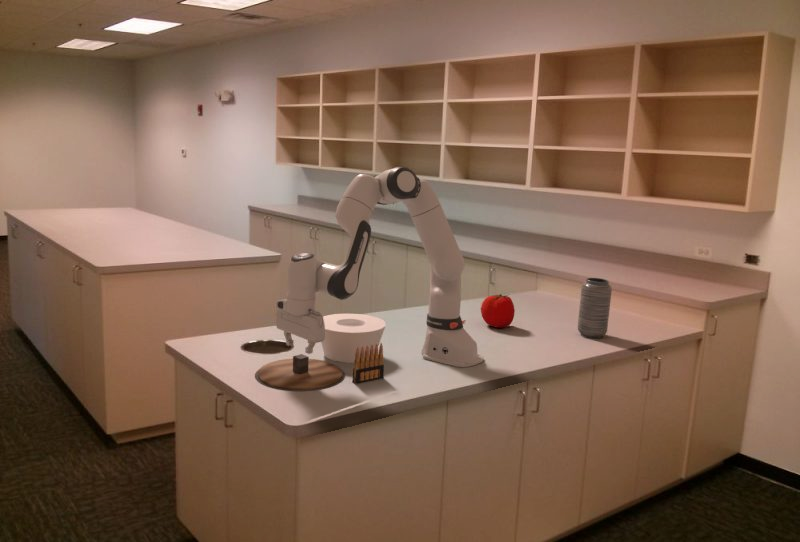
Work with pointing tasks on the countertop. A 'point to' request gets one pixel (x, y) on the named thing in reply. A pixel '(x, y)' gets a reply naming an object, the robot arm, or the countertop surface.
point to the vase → (594, 308)
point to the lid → (300, 373)
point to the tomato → (498, 310)
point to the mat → (300, 390)
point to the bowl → (350, 335)
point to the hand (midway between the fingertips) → (299, 349)
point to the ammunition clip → (368, 365)
